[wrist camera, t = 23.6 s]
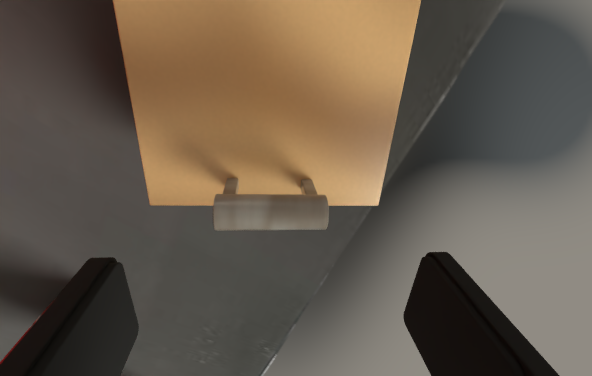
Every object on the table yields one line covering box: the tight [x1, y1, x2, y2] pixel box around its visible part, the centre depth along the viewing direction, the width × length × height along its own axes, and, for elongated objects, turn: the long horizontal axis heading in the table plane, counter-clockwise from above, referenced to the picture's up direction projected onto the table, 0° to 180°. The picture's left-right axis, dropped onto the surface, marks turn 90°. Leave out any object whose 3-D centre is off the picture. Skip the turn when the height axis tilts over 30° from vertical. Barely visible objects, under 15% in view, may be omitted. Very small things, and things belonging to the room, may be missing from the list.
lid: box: [113, 0, 421, 230], centre depth 14 cm, size 13×15×5 cm
